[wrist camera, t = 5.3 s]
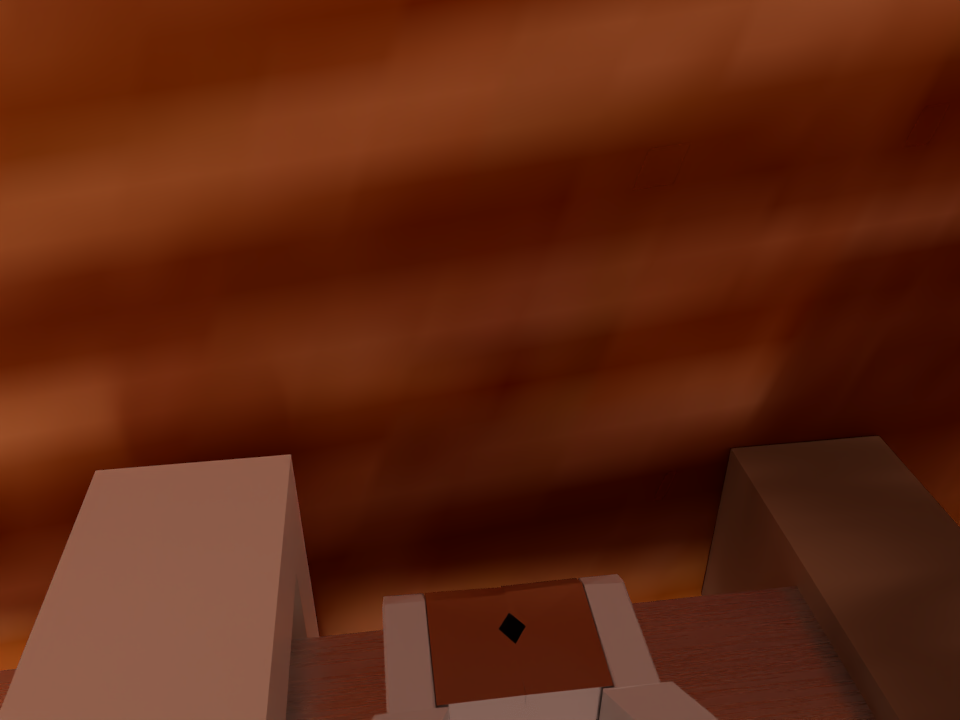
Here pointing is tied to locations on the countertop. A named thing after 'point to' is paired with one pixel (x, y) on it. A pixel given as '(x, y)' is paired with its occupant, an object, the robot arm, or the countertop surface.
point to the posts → (851, 563)
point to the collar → (173, 598)
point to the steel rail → (673, 647)
